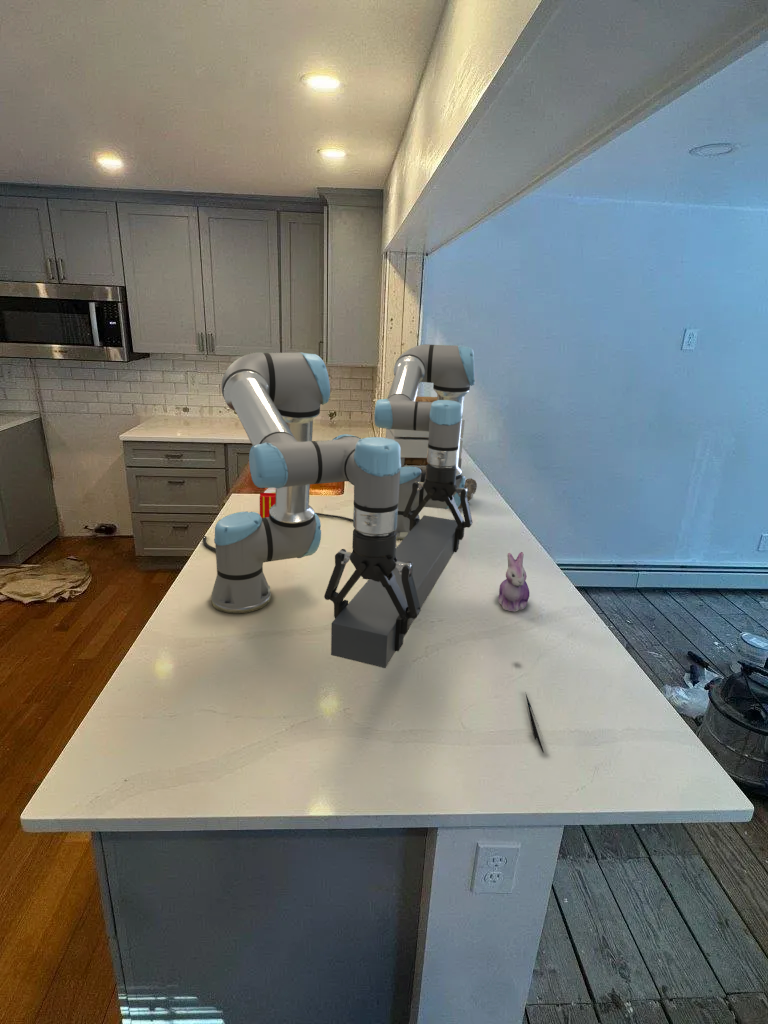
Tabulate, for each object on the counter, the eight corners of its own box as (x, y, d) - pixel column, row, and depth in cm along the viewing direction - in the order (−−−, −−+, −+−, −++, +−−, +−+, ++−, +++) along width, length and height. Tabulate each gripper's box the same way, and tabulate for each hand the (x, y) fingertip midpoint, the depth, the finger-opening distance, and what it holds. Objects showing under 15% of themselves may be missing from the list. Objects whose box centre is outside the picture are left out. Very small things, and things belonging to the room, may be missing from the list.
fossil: (440, 484, 244) (470, 465, 239) (453, 501, 247) (482, 482, 242) (440, 506, 224) (472, 486, 219) (454, 524, 227) (486, 504, 222)
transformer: (382, 463, 289) (386, 382, 275) (445, 464, 293) (451, 384, 279) (390, 482, 257) (394, 392, 243) (460, 483, 261) (468, 394, 247)
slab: (422, 537, 155) (423, 515, 153) (459, 543, 152) (461, 521, 149) (330, 655, 101) (331, 623, 99) (385, 668, 98) (387, 635, 96)
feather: (517, 669, 129) (522, 662, 128) (543, 757, 102) (550, 750, 102) (511, 665, 129) (516, 659, 128) (535, 752, 102) (542, 745, 101)
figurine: (511, 616, 149) (518, 564, 143) (487, 598, 157) (493, 549, 152) (539, 609, 153) (547, 558, 148) (514, 592, 161) (521, 544, 156)
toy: (300, 481, 221) (289, 494, 192) (300, 514, 224) (289, 533, 194) (268, 480, 221) (253, 493, 191) (269, 514, 223) (254, 532, 194)
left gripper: (304, 525, 97) (305, 637, 105) (434, 548, 90) (424, 666, 98) (323, 512, 104) (322, 617, 111) (445, 532, 97) (435, 643, 104)
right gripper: (393, 462, 140) (388, 544, 148) (485, 474, 133) (475, 560, 141) (402, 455, 147) (397, 534, 154) (490, 466, 140) (481, 548, 147)
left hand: (370, 640), depth 105 cm, fingers closed on slab, 10 cm apart
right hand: (435, 546), depth 148 cm, fingers closed on slab, 10 cm apart
